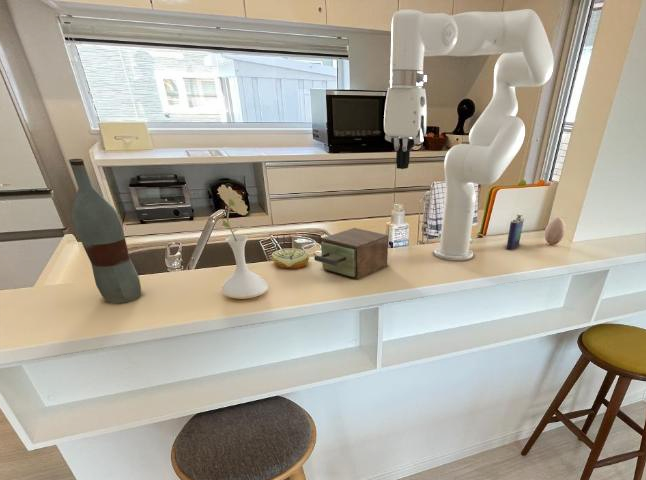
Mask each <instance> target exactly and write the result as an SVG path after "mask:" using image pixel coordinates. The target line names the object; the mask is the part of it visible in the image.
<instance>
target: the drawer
mask: <svg viewBox="0 0 646 480" xmlns="http://www.w3.org/2000/svg"><path fill="white" fill-rule="evenodd" d="M320 246H321V247H320V250H321V255H318V254H316V255H314V257H313V259H314V261H315V262H319V263H321V267H322V269H323V270H324V269H328V270H331V271H335V272H338V273H342V274H345V275H349V276H352V277H354V276H356V254H355V249H351V248H347V247H344V246H341V245H337V244H333V243H327V242H322V241H321V242H320ZM331 271H330V272H331ZM338 273H337V274H338ZM345 275H344V276H345Z"/></svg>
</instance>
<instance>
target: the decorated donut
mask: <svg viewBox="0 0 646 480" xmlns="http://www.w3.org/2000/svg"><path fill="white" fill-rule="evenodd" d="M271 260H272V261H273V263H274V265H275V266H277V267H278V268H281V269H292V270H294V269H300V268H303V267H306V266H307V265H308V264H309V260H310V256H309V254H308V252H307V251H305V250H303V249H299V248H293V247H292V248H290V247H289V248H281V249H278V250H276V251H274V252H272V253H271Z"/></svg>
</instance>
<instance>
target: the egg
mask: <svg viewBox="0 0 646 480" xmlns="http://www.w3.org/2000/svg"><path fill="white" fill-rule="evenodd" d="M565 233H566V224H565V222H564V220H563V219H562V218H560V217H554V218H552V219H551V220H550V221H549V222H548V224H547V225H546V228H545V230H544V240H545V241H546V243H547V244H549V245H551V246H554V245H558V244H559V243H560V242H561V241H562V240H563V239H564V237H565Z"/></svg>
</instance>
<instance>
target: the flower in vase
mask: <svg viewBox="0 0 646 480" xmlns="http://www.w3.org/2000/svg"><path fill="white" fill-rule="evenodd" d="M217 191H218V194H219V197H220V199H221V200H222V201H224V203H225V204H226V205H227V213H226V215H227V216H226V220H224V219H222V224H221V225H222V226H223V227H226V228H227V229H228V230H230V232H231V236H228V237H226V238H225V242H226V243H228V245H229V246H230V248H231V250H232V252H233V256H234V259H235V265H236V266H235V271H234V272H233V273H232V274H231V275H230V276H229V277H228V278H226V280H225V281H224V282H223V283H222V285H221V289H220V291H221V293H223V295H224V296H226V297H228V298H232V299H238V300H240V299H241V300H243V299H244V300H246V299H252V298H257V297H259V296H262V295H264V294H265V293H266V292H267V291H268V289H269V284H268V283H267V281H266V280H265V279H263V277H261V276H259V275H258V274H256V273H254V272H252V270H250V269H249V268H248V266H247V263H246V257H245V249H246V248H245V247H246V243H247V241H248V239H249V238H248V237H247V236H244V235H235V232H236V231H238V230H239V229H240V228H242V227H243V224H242V223H241V224H240V225H239V226H237V227H236V228H235V229H232V227H231V225H230V222H229V216H230V210H232V211H233V212H236V213H237V214H238V215H241V216H246V215H247V214H249V211H248V208H249V207H248V205H246V204H245V203H246V202H245V200H243V196H242V195H241V194H238V193H237V191H236V190H233V189H232V187H231V186H226V184H221V186H218V188H217Z"/></svg>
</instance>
